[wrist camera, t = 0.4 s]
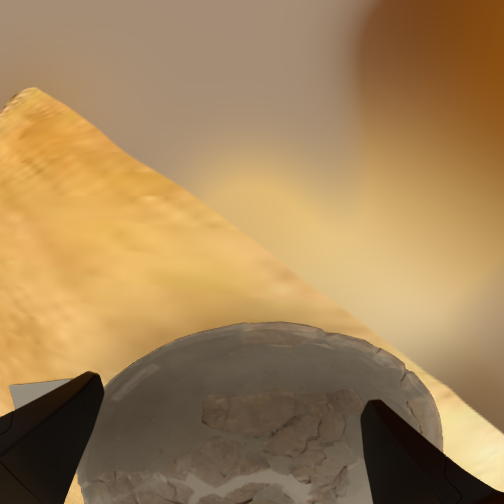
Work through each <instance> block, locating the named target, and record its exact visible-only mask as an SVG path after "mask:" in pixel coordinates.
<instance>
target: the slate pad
mask: <svg viewBox="0 0 504 504" xmlns="http://www.w3.org/2000/svg"><path fill="white" fill-rule="evenodd" d="M70 380H72V379H65V380H58V381H50V382H41V383H31V384H20V385H9V388H10V392H11V395H12V399H13V402H14V406H15V409H18V408H19V407H21V406H23V405H25V404H27V403H29V402H31V401H33V400H35V399H37V398H39V397H40V396H42V395H44V394H46V393H48V392H50V391H52V390H54V389H56V388H57V387H59V386H61V385H63V384H65V383H67V382H69V381H70ZM77 469H78V468H77ZM76 473H77V470H76Z"/></svg>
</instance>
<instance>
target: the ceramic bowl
mask: <svg viewBox="0 0 504 504" xmlns="http://www.w3.org/2000/svg"><path fill="white" fill-rule="evenodd" d="M104 392H105V394H104V398H103V401H102V404H101V407H100V411H99V414H98V417H97V420H96V423H95V427H94V430H93V432H92V435H91V437H90V439H89V441H88V444H87V446H86V448H85V451H84V453H83V456H82V458H81V460H80V463H79V465H78V469H77V474H78V484H79V485H80V486H81V493H82V495H83V499H84V503H85V504H373V501H372V496H371V490H370V485H369V480H368V475H367V470H366V466H365V461H364V454H363V443H362V433H361V424H360V417H361V414H362V412H363V410H364V408H365V406H366V404H367V402H368V401H369V400H371V399H381V400H382V401H383V402H384V403H386V404H387V405H388V406H389V407H390V408H391V409H392V410H394V411H395V412H396V413H397V414H398V415H399V416H400V417H402V418H403V419H404V420H405V421H406V422H407V423H409V424H410V425H411V426H412V427H413V428H414V429H415V430H417V431H418V432H419V433H420V434H421V435H422V436H424V437H425V438H426V439H427V440H428V441H430V442H431V443H432V444H433V445H434V446H435V447H437V448H438V449H439V450H440V451H441V452H443V436H442V426H441V420H440V415H439V412H438V409H437V407H436V404H435V401H434V399H433V397H432V395H431V393H430V391H429V390H428V389H427V388H426V386H425V385H424V384H423V383H422V382H421V380H420V379H419V378H418V377H417V376H416V375H415V373H414V372H412V371H408V370H407V369H406V368H405V364H404V363H403V362H402V361H401V360H399V359H398V358H396V357H395V356H393V355H392V354H390V353H388V352H387V351H385V350H384V349H381V348H377V347H375V346H373V345H372V344H370V343H369V342H367V341H366V340H363V339H359V338H355V337H351V336H347V335H343V334H339V333H326V332H324V331H323V330H322V329H320V328H316V327H312V326H309V325H304V324H296V323H288V322H266V323H252V324H247V323H239V324H234V325H229V326H224V327H220V328H215V329H211V330H206V331H202V332H198V333H195V334H192V335H188V336H185V337H182V338H179V339H177V340H174V341H172V342H170V343H168V344H166V345H164V346H162V347H159V348H157V349H156V350H154V351H152V352H151V353H149V354H147V355H146V356H144V357H142V358H141V359H139V360H137V361H136V362H134V363H133V364H131V365H130V366H129V367H127V368H126V369H125V370H123V371H122V372H121V373H119V374H118V375H117V376H115V377H114V378H113V379H112V380H111V381H110V382H109V383H108V384H107V385H106V386H105V387H104Z"/></svg>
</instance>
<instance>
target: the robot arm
mask: <svg viewBox="0 0 504 504" xmlns="http://www.w3.org/2000/svg"><path fill="white" fill-rule="evenodd" d="M104 394H105V392H104V387H103V384H102V381H101V378H100V375H99V374H97V373H94V372H91V371H87V372H85V373H83V374H81V375H80V376H78V377H76V378H74V379H72V380H70V381H69V382H67V383H65V384H63V385H61V386H59V387H57V388H56V389H54V390H52V391H50V392H48V393H46V394H44V395H42V396H40V397H39V398H37V399H35V400H33V401H31V402H29V403H27V404H25V405H23V406H21V407H19V408H18V409H16V410H14V411H12V412H10V413H8V414H6V415H4V416H2V417H0V504H64V502H65V499H66V496H67V494H68V491H69V488H70V486H71V483H72V480H73V478H74V475H75V473H76V470H77V468H78V465H79V463H80V460H81V458H82V456H83V453H84V451H85V448H86V446H87V444H88V441H89V439H90V437H91V435H92V432H93V430H94V427H95V423H96V420H97V417H98V414H99V411H100V407H101V404H102V401H103V398H104ZM360 424H361V433H362V443H363V454H364V461H365V466H366V470H367V475H368V480H369V485H370V490H371V496H372V501H373V504H504V492H500V491H498V490H495V489H494V488H492V487H490V486H489V485H487V484H485V483H484V482H482V481H480V480H479V479H477V478H476V477H474V476H473V475H471V474H470V473H468V472H467V471H465V470H464V469H462V468H461V467H460V466H459V465H457V464H456V463H455V462H453V461H452V460H451V459H450V458H449V457H447V456H446V455H445V454H444V453H443V452H441V451H440V450H439V449H438V448H437V447H435V446H434V445H433V444H432V443H431V442H430V441H428V440H427V439H426V438H425V437H424V436H422V435H421V434H420V433H419V432H418V431H417V430H415V429H414V428H413V427H412V426H411V425H410V424H409V423H407V422H406V421H405V420H404V419H403V418H402V417H400V416H399V415H398V414H397V413H396V412H395V411H394V410H392V409H391V408H390V407H389V406H388V405H387V404H386V403H384V402H383V401H382V400H381V399H371V400H369V401H368V402H367V404H366V406H365V408H364V410H363V412H362V414H361V417H360Z"/></svg>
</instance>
